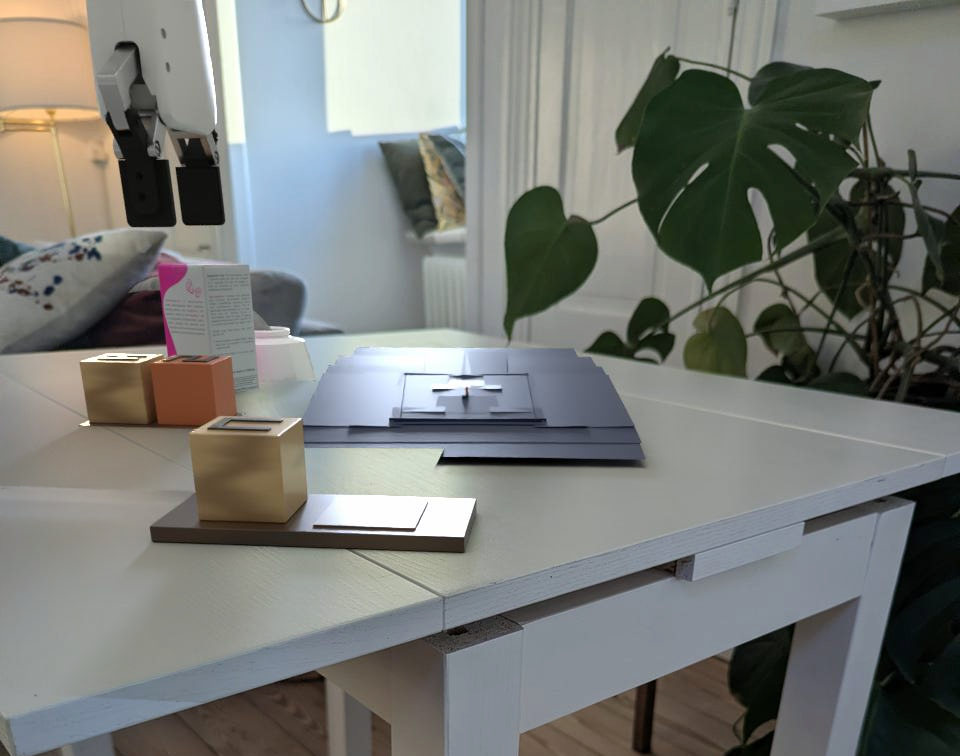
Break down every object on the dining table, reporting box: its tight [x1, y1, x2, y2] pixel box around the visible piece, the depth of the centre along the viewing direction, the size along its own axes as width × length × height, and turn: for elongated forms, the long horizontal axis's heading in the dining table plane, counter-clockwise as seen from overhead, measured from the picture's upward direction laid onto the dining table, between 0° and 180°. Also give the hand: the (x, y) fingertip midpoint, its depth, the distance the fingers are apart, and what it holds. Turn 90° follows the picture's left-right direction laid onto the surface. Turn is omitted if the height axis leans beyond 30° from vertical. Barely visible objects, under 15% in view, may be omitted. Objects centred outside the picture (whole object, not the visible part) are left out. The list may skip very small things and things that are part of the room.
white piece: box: [128, 275, 317, 382], centre depth 92 cm, size 9×18×10 cm, turn 90°
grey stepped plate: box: [302, 346, 647, 461], centre depth 76 cm, size 24×30×4 cm
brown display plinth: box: [149, 416, 478, 553], centre depth 49 cm, size 16×7×5 cm, turn 85°
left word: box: [78, 353, 246, 430], centre depth 72 cm, size 11×6×5 cm, turn 85°
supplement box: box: [157, 262, 260, 393], centre depth 84 cm, size 6×6×12 cm
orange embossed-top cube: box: [150, 355, 238, 426], centre depth 71 cm, size 5×5×5 cm
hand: (180, 226), depth 67 cm, fingers open, 9 cm apart
